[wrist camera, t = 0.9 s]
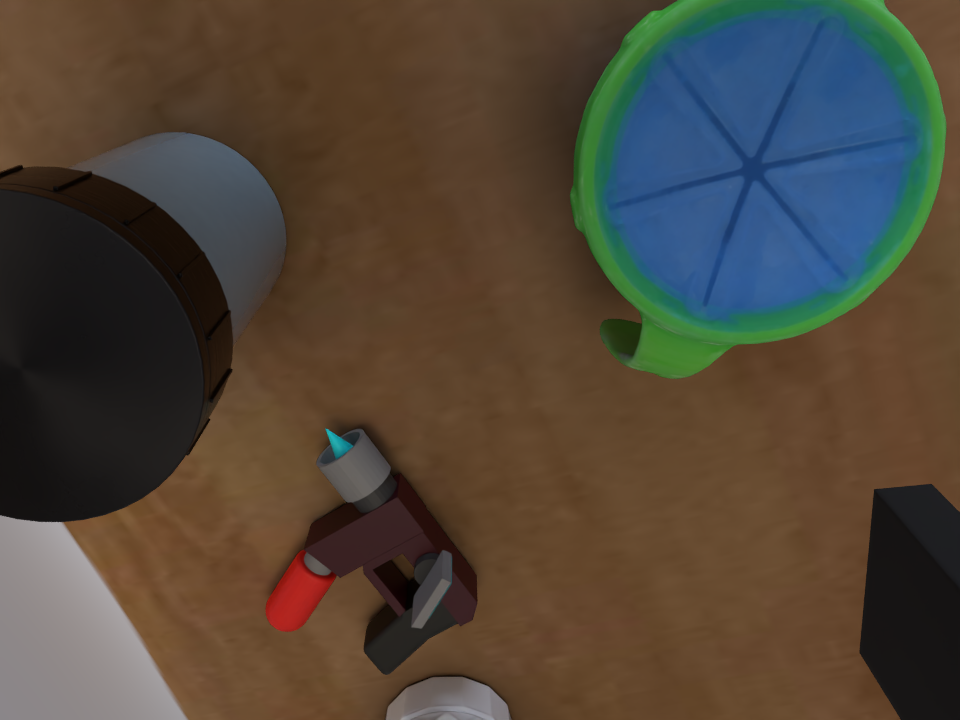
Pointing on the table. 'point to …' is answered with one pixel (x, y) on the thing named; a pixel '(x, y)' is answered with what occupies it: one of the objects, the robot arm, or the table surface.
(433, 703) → the white cup
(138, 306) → the lid
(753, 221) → the snack cup
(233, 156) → the jar
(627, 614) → the table surface
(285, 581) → the toy gun
